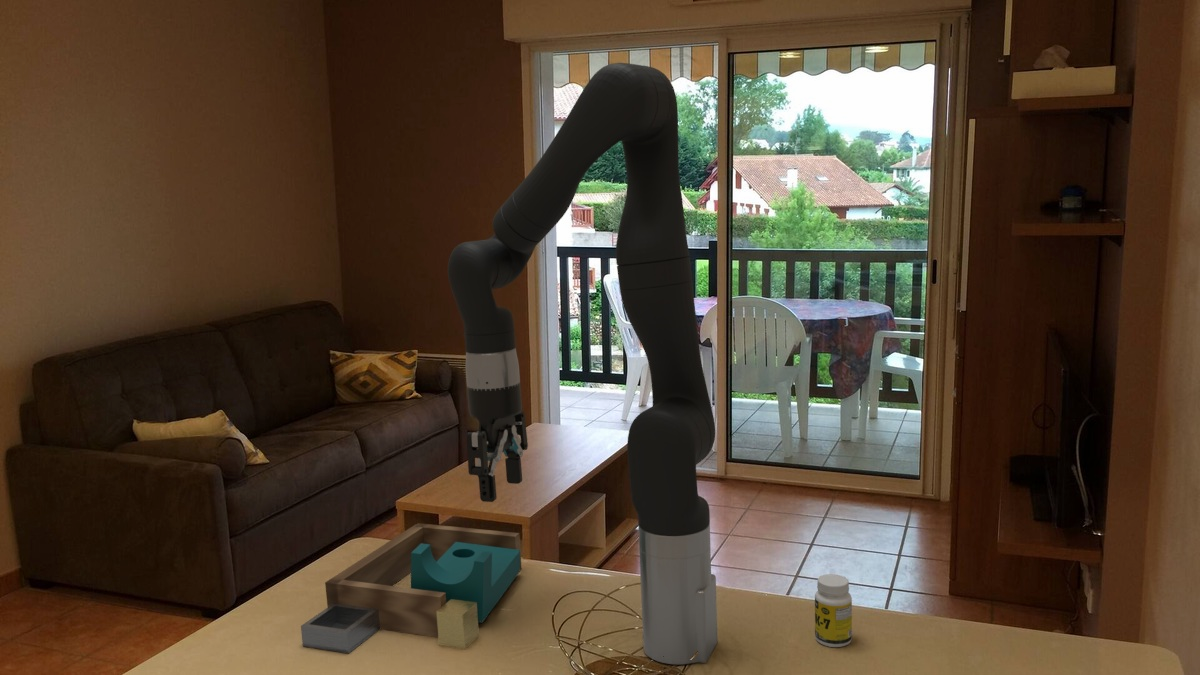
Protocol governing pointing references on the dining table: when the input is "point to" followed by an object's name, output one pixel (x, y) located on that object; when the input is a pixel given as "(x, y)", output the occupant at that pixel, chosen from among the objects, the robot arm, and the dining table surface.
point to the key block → (457, 624)
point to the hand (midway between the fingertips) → (502, 491)
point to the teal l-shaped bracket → (466, 573)
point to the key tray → (340, 628)
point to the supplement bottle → (833, 611)
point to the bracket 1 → (392, 562)
